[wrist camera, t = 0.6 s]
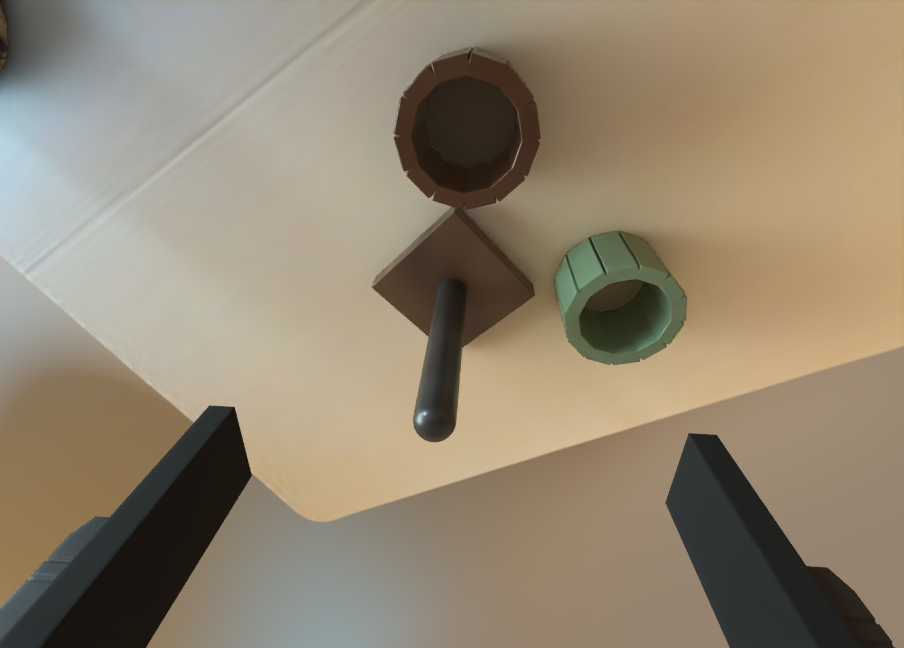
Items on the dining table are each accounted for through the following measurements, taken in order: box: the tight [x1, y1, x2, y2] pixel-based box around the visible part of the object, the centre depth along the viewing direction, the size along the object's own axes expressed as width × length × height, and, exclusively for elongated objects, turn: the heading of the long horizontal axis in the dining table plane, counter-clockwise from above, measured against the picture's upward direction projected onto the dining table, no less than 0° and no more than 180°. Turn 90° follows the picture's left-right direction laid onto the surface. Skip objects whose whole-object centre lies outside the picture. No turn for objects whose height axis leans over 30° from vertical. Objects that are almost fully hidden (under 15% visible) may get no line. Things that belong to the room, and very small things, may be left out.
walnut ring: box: [393, 48, 541, 210], centre depth 24 cm, size 7×7×5 cm
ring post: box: [372, 207, 535, 442], centre depth 26 cm, size 8×8×14 cm
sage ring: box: [554, 231, 687, 365], centre depth 29 cm, size 7×7×5 cm
